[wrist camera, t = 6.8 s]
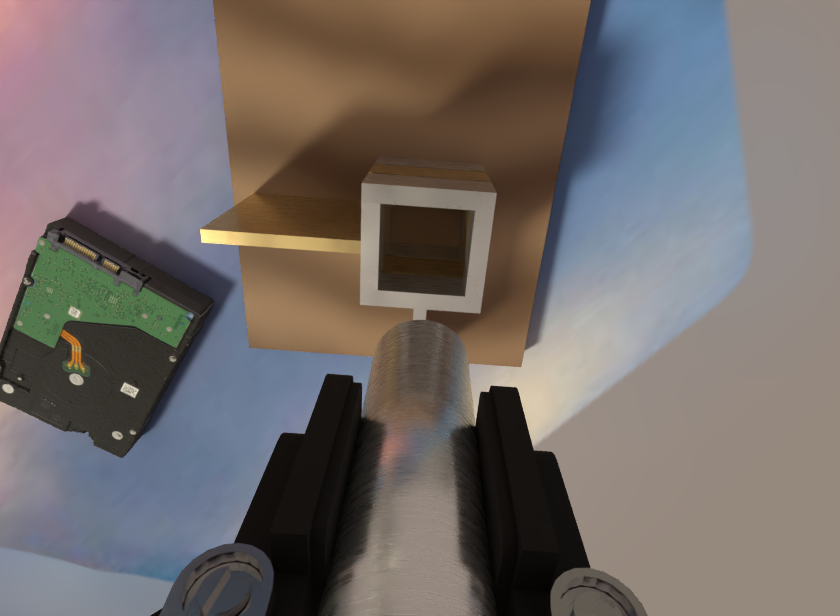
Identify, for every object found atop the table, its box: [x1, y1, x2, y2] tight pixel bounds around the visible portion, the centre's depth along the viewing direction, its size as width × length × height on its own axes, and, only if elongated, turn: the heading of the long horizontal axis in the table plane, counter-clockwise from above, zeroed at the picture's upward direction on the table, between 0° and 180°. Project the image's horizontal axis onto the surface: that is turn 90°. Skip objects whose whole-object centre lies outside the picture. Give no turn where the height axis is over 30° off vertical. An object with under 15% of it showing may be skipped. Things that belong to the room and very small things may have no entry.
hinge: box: [200, 156, 497, 320], centre depth 26 cm, size 13×13×7 cm
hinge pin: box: [318, 320, 497, 616], centre depth 9 cm, size 3×3×10 cm
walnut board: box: [213, 0, 591, 367], centre depth 27 cm, size 24×18×2 cm
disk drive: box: [0, 217, 214, 458], centre depth 33 cm, size 10×3×15 cm
